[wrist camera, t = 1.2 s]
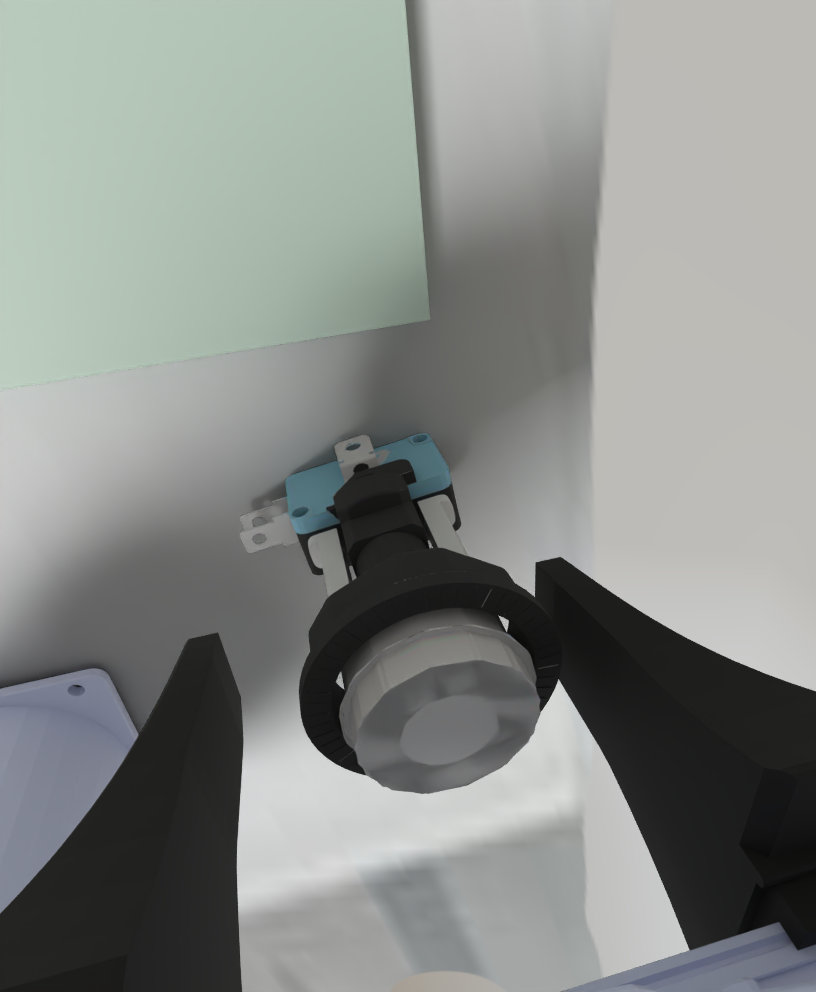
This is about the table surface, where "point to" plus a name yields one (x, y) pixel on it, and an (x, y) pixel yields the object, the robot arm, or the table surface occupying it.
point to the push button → (408, 623)
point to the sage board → (202, 180)
